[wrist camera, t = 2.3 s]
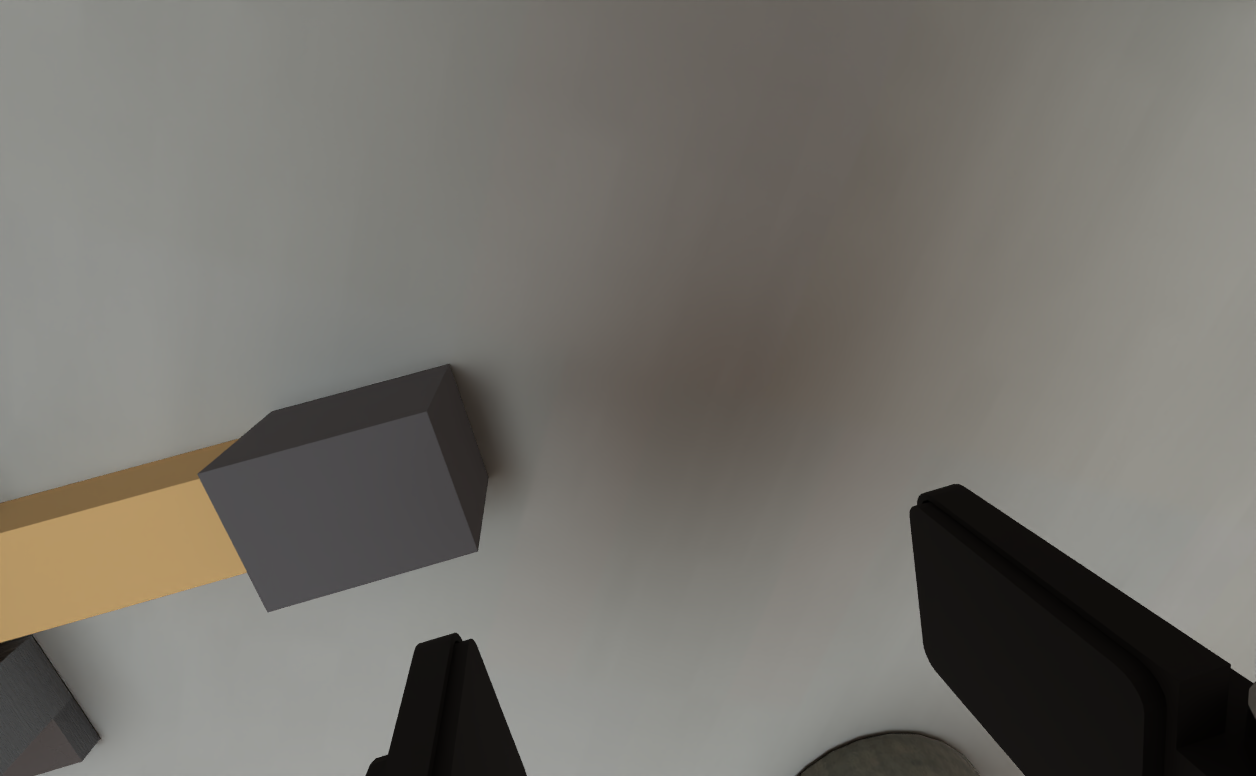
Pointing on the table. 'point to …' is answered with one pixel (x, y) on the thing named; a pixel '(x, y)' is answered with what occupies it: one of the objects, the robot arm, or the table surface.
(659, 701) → the table surface
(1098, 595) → the robot arm
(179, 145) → the table surface
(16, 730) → the housing
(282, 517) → the plug
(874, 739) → the lamp
